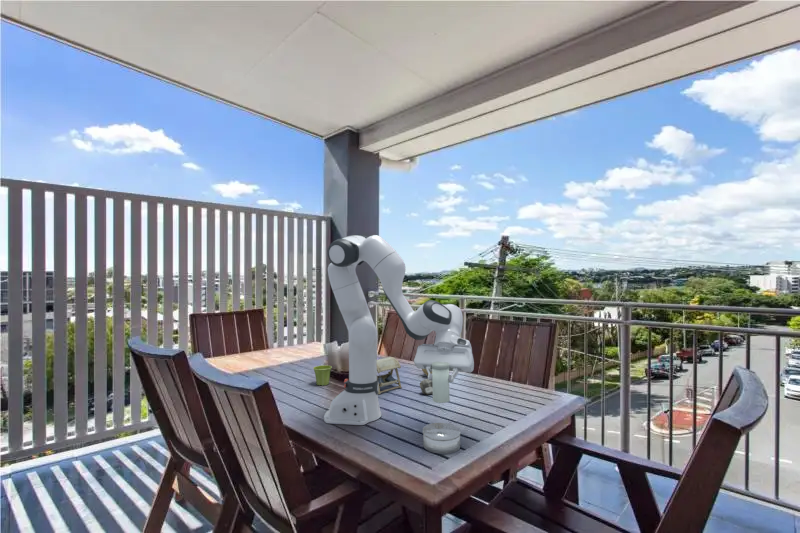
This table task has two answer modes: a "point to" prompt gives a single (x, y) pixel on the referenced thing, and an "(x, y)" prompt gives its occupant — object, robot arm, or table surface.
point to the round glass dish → (441, 438)
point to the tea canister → (440, 382)
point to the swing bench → (387, 379)
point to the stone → (426, 386)
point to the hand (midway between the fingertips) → (440, 380)
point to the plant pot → (322, 374)
